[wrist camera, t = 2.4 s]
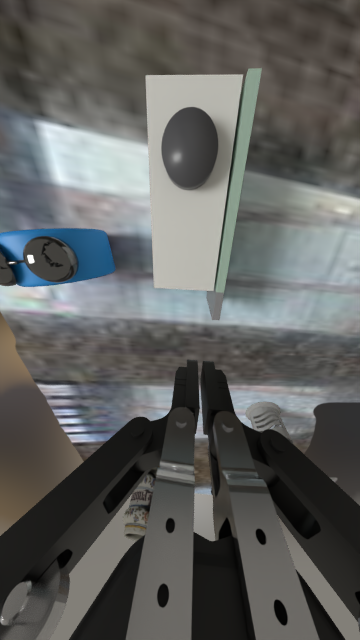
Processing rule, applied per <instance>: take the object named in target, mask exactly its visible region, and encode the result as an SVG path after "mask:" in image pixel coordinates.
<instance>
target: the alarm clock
mask: <svg viewBox="0 0 360 640" xmlns="http://www.w3.org/2000/svg"><path fill="white" fill-rule="evenodd" d="M114 271H115V264H114V260H113V256H112V252H111V248H110V244H109V240H108V236H107V234H106V232H104V231H102V230H96V229H79V228H61V229H34V230H20V231H10V232H3V233H0V285H2V286H13V285H16V284H17V285H19V286H23V287H36V286H49V285H57V284H64V283H71V282H77V281H82V280H88V279H92V278H97V277H101V276H104V275H107V274H110V273H112V272H114Z"/></svg>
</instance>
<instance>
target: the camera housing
mask: <svg viewBox="0 0 360 640" xmlns="http://www.w3.org/2000/svg"><path fill="white" fill-rule="evenodd" d="M242 78H243V75H146V98H147V123H148V149H149V175H150V200H151V226H152V252H153V277H154V288H166V289H185V290H203V291H214V283H215V276H216V269H217V261H218V254H219V247H220V239H221V232H222V225H223V217H224V210H225V203H226V195H227V188H228V181H229V173H230V166H231V159H232V151H233V144H234V137H235V129H236V122H237V115H238V107H239V100H240V93H241V85H242Z"/></svg>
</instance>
